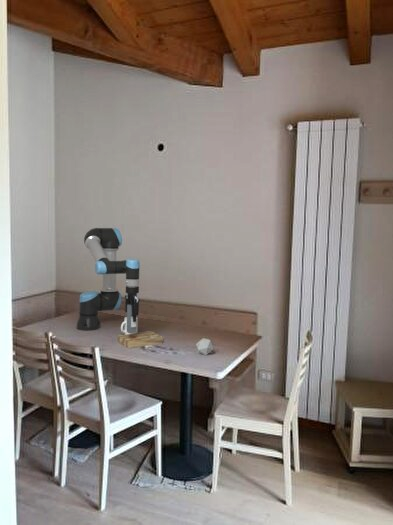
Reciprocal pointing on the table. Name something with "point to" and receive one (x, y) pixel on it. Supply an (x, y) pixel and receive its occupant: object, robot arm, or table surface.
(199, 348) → the die
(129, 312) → the plug
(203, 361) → the table surface
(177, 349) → the table surface
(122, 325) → the mug
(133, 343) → the port block
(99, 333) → the table surface
